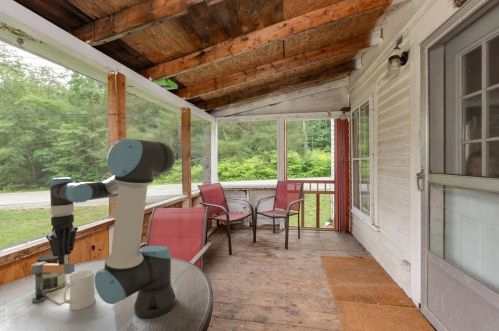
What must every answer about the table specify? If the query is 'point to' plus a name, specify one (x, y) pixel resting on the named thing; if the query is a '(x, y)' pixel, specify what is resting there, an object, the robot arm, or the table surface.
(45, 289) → the coffee can
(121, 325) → the table surface
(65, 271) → the swing arm
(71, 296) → the mug
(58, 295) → the coaster
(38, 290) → the post
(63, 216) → the robot arm
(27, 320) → the table surface
